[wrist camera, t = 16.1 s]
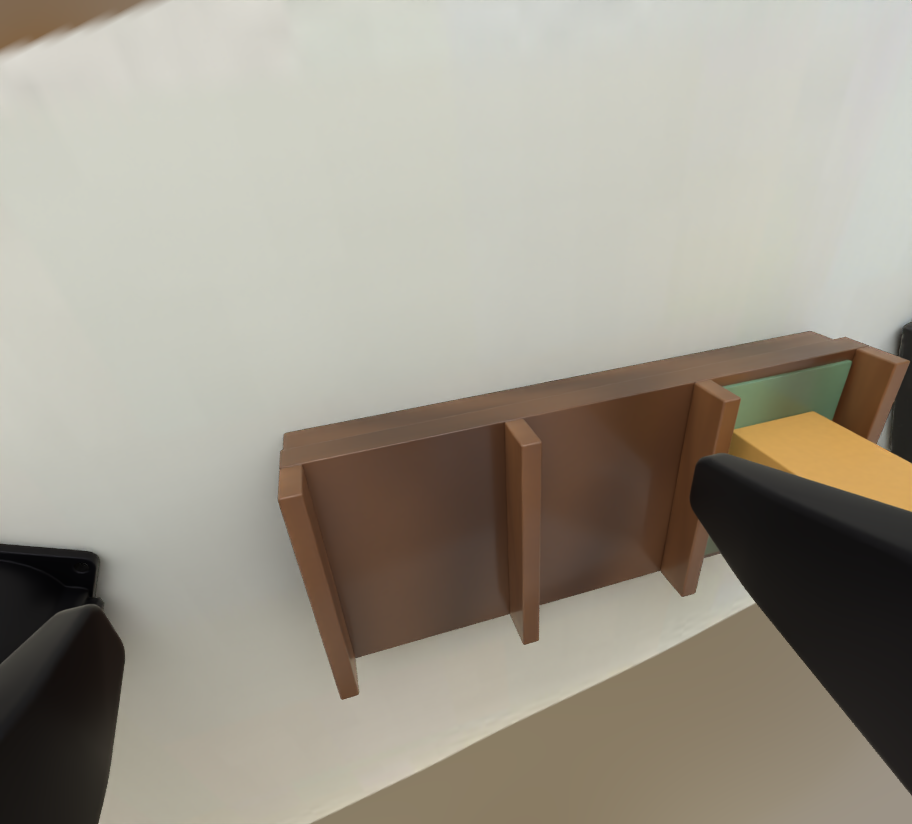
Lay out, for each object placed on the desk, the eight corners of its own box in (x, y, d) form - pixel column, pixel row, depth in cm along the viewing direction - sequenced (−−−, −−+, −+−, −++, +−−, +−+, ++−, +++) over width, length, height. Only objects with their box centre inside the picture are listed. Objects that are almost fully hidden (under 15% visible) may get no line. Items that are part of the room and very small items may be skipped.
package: (707, 523, 25) (1009, 808, 14) (729, 429, 22) (1121, 695, 12) (783, 502, 26) (1121, 756, 15) (813, 410, 23) (1248, 640, 13)
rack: (334, 611, 26) (340, 701, 21) (281, 426, 20) (277, 499, 16) (761, 497, 31) (833, 552, 26) (812, 324, 25) (911, 360, 21)
